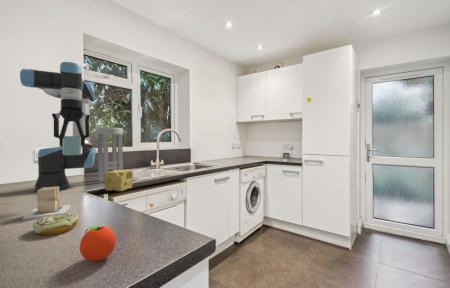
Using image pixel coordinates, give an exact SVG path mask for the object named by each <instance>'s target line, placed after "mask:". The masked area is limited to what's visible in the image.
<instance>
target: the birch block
mask: <svg viewBox="0 0 450 288" xmlns="http://www.w3.org/2000/svg"><path fill="white" fill-rule="evenodd" d="M36 193H37V195H36V199H37V201H36V202H37V208H38V213H45V212H54V211H56V210H57V209H58V208H59V206H60V190H59V187H46V188H41V189H39V190H37V191H36Z"/></svg>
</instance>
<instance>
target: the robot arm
mask: <svg viewBox="0 0 450 288" xmlns="http://www.w3.org/2000/svg"><path fill="white" fill-rule="evenodd" d="M59 65H60V67H59V72H55V71H46V70H39V69H33V68H22V69H20V71H19V78H20V83H21V85H22V86H24V87H26V88H31V89H32V88H35V89H39V90H42V91H43V93H44V94H46V95H48V96H50V97H54V98H58V99H60V111H59V112H56V113H51V116H52V119H53V137H54V138H57V139H59V146H53V147H47V148H40V149H39V150H38V153H37V154H38V155H37V159H38V160H37V161H38V162H37V164H38V165H37V166H38V167H37V169H38V170H37V173H38V177H37V179H36V181H35V185H34V191H35V192H37V190H39V189H41V188H46V187H59V191H60V190H64V189H67V188H69V187H70V182H69V180H68V177H67V175H66V170H72V169H87V168H92V167H93V166H94V164H95V158H96V148H95V147H94V146H93V144H92V143H91V132H90V131H91V130H90V129H91V114H90V109H91V108H90V107H91V106H92V105H93V102H96V97H95V90H94V86H93V84H92V83H91V82H88V81H84V80H83V75H82V74H83V72H82V66H81V65H80V64H78V63H75V62H72V61H63V62H61V63H60V64H59ZM61 117H62V118H63V123H62V126H61V130H60V118H61ZM71 122H72V136H80V137H81V139H79V154H80V155H64V136H66V133H67V128H68V126H69V123H71Z"/></svg>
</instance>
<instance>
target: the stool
mask: <svg viewBox="0 0 450 288" xmlns="http://www.w3.org/2000/svg"><path fill="white" fill-rule="evenodd" d="M95 134H96V136H97V137H96V138H97V181H98V180H103V183H104V182H105V172H110V170H111V171H115V170H124V160H123V159H124V156H123V155H124V153H123V146H124V145H123V134H124V128H121V127H96V128H95ZM109 135H110V136H111V160H112V161H109Z"/></svg>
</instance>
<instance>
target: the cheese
mask: <svg viewBox="0 0 450 288" xmlns="http://www.w3.org/2000/svg"><path fill="white" fill-rule="evenodd" d="M133 183H134V170H133V169H123V170H118V169H117V170H115V171H112V170H109V172H105V183H104V190H105V191H109V192H112V191H115V192H123V191H126V190H129V189H132V188H133Z"/></svg>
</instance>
